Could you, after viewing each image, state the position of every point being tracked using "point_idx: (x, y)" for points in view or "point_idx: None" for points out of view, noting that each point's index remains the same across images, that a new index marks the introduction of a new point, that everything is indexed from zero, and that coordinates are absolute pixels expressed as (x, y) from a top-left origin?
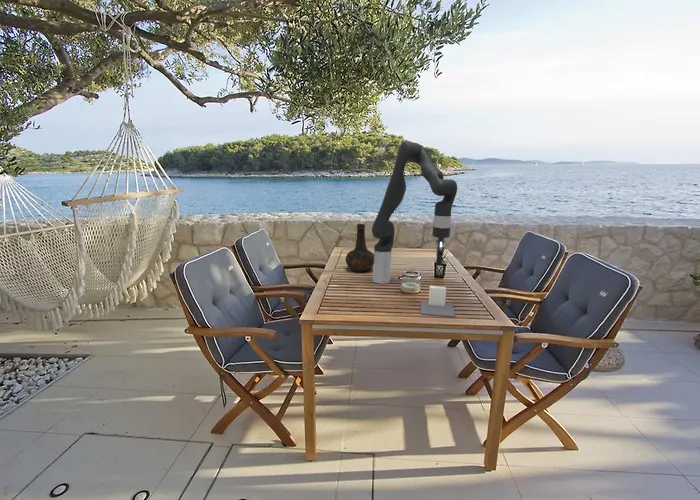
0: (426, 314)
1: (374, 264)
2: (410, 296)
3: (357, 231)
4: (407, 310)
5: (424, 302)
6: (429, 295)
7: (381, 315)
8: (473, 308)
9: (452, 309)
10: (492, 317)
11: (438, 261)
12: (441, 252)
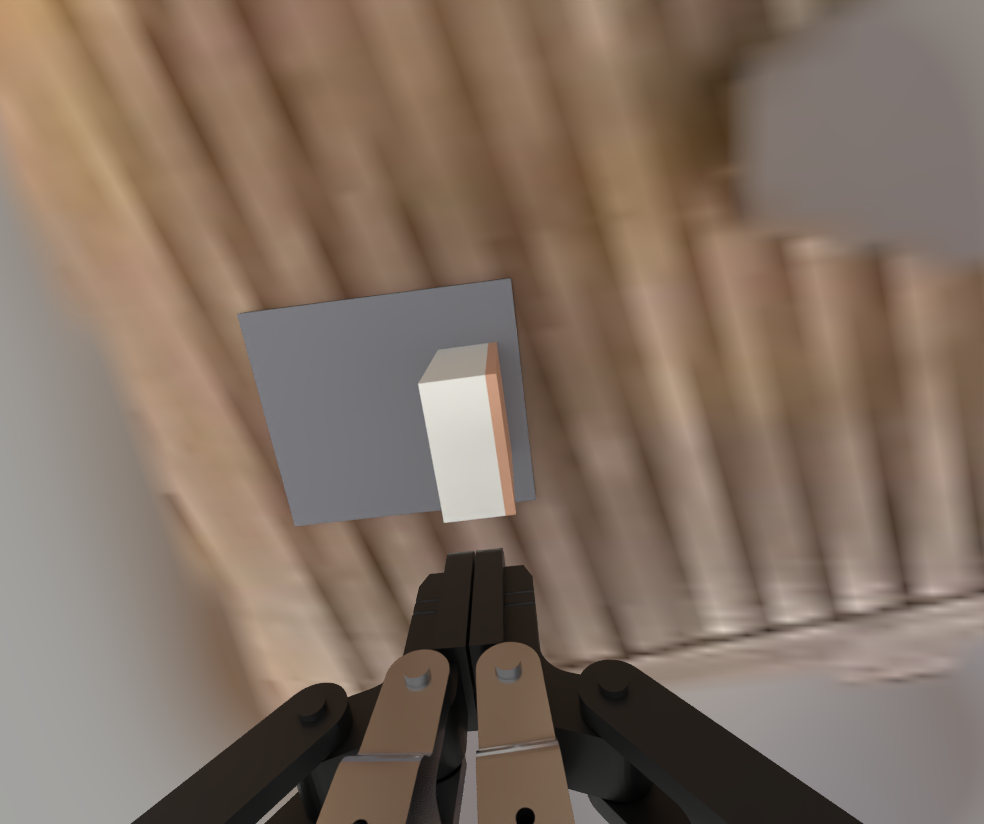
0: (251, 351)
1: None
2: (635, 167)
3: None
4: (277, 201)
5: (482, 311)
6: (436, 364)
7: (59, 4)
8: None
9: (408, 507)
10: None
11: (417, 618)
12: None
